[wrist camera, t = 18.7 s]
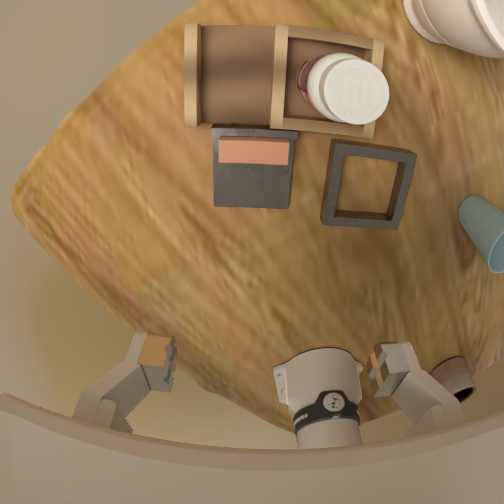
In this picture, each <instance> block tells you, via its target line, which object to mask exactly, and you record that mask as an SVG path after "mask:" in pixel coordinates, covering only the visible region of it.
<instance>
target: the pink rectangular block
mask: <svg viewBox="0 0 504 504" xmlns="http://www.w3.org/2000/svg"><path fill="white" fill-rule="evenodd" d="M288 154H289V141H288V138H273V137H251V136H220V138H219V163H254V164H276V165H288Z"/></svg>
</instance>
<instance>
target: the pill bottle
mask: <svg viewBox="0 0 504 504" xmlns="http://www.w3.org/2000/svg"><path fill="white" fill-rule="evenodd" d="M296 85H297V89H298V91H299V93H300V95H301V97H302V98H303V99H304V100H305V101H306V102H307V103H308V104H309V105H311V106H312V107H313V108H314V109H316V110H317V111H318V112H320V113H321V114H322V115H324V116H325V117H327V118H329V119H331V120H334V121H337V122H343V123H349V124H354V125H363V124H367V123H370V122H372V121H374V120H376V119H377V118H378V117H380V116H381V115H382V113H383V112H384V111H385V109H386V107H387V104H388V101H389V87H388V83H387V80H386V78H385V76H384V75H383V73H382V72H381V71H380V70H379V69H378V68H377V67H376V66H374V65H373V64H371V63H369V62H367V61H365V60H362V59H361V58H359V57H357V56H354V55H352V54H347V53H332V54H320V55H315V56H313V57H310V58H309V59H307V60H306V61H305V62H304V63H303V64H302V65H301V66H300V68H299V70H298V72H297V76H296Z"/></svg>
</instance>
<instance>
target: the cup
mask: <svg viewBox="0 0 504 504" xmlns="http://www.w3.org/2000/svg"><path fill="white" fill-rule="evenodd" d="M458 220H459V222H460V224H461V226H462V227H463V229H464V230H465V231H466V233H467V234H468V236H469V237H470V239H471V240H472V242H473V243H474V245H475V247H476V248H477V250H478V251H479V253H480V255H481V256H482V258H483V259H484V261H485V263H486V264H487V266H488V268H489V270H490V271H491V272H493V273H495V274H499V273H503V272H504V212H503V211H501V210H500V209H498V208H497V207H495V206H494V205H492V204H491V203H489V202H488V201H486V200H485V199H483V198H482V197H480V196H478V195H471V196H469V197H468V198H466V199H465V200H464V201H463V203H462V204H461V206H460V208H459V211H458Z"/></svg>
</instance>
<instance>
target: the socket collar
mask: <svg viewBox="0 0 504 504" xmlns="http://www.w3.org/2000/svg"><path fill="white" fill-rule="evenodd" d="M344 154H346V155H354V156H362V157H370V158H377V159H384V160H391V161H397V162H399V164H398V168H397V173H396V177H395V181H394V186H393V190H392V194H391V198H390V202H389V206H388V210H387V214H384V213H372V212H360V211H346V210H335V207H336V202H337V196H338V190H339V185H340V179H341V172H342V166H343V160H344ZM416 156H417V155H416V154H414V153H413V152H412V151H410V150H407V149H401V148H396V147H390V146H384V145H377V144H371V143H364V142H356V141H349V140H341V139H332V138H331V145H330V152H329V160H328V167H327V174H326V181H325V188H324V194H323V201H322V207H321V213H320V219H321V222H322V225H331V226H348V227H365V228H380V229H394V230H397V229H398V226H399V222H400V219H401V215H402V212H403V208H404V205H405V201H406V197H407V194H408V190H409V186H410V182H411V178H412V174H413V169H414V165H415V161H416Z"/></svg>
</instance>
